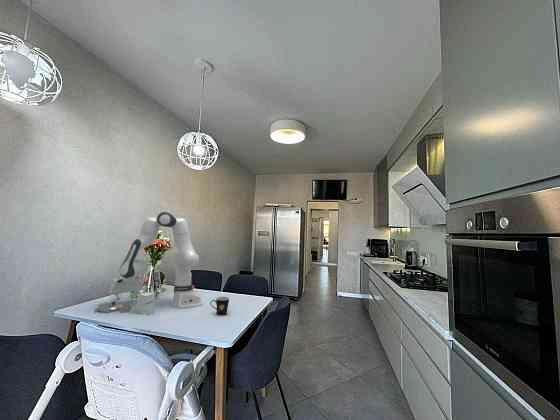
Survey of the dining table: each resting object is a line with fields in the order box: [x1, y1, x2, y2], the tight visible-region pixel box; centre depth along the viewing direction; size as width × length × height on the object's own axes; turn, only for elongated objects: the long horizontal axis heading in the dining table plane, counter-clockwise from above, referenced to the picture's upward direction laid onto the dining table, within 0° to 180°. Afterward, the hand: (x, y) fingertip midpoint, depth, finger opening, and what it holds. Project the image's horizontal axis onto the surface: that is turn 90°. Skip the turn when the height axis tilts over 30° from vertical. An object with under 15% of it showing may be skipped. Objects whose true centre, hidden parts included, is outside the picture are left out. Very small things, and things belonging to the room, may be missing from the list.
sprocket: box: [94, 297, 127, 314], centre depth 154 cm, size 15×17×5 cm
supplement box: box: [135, 291, 156, 316], centre depth 152 cm, size 7×7×13 cm
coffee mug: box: [209, 296, 230, 316], centre depth 159 cm, size 12×9×10 cm
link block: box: [120, 305, 132, 314], centre depth 150 cm, size 5×4×5 cm
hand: (125, 298), depth 166 cm, fingers open, 8 cm apart
